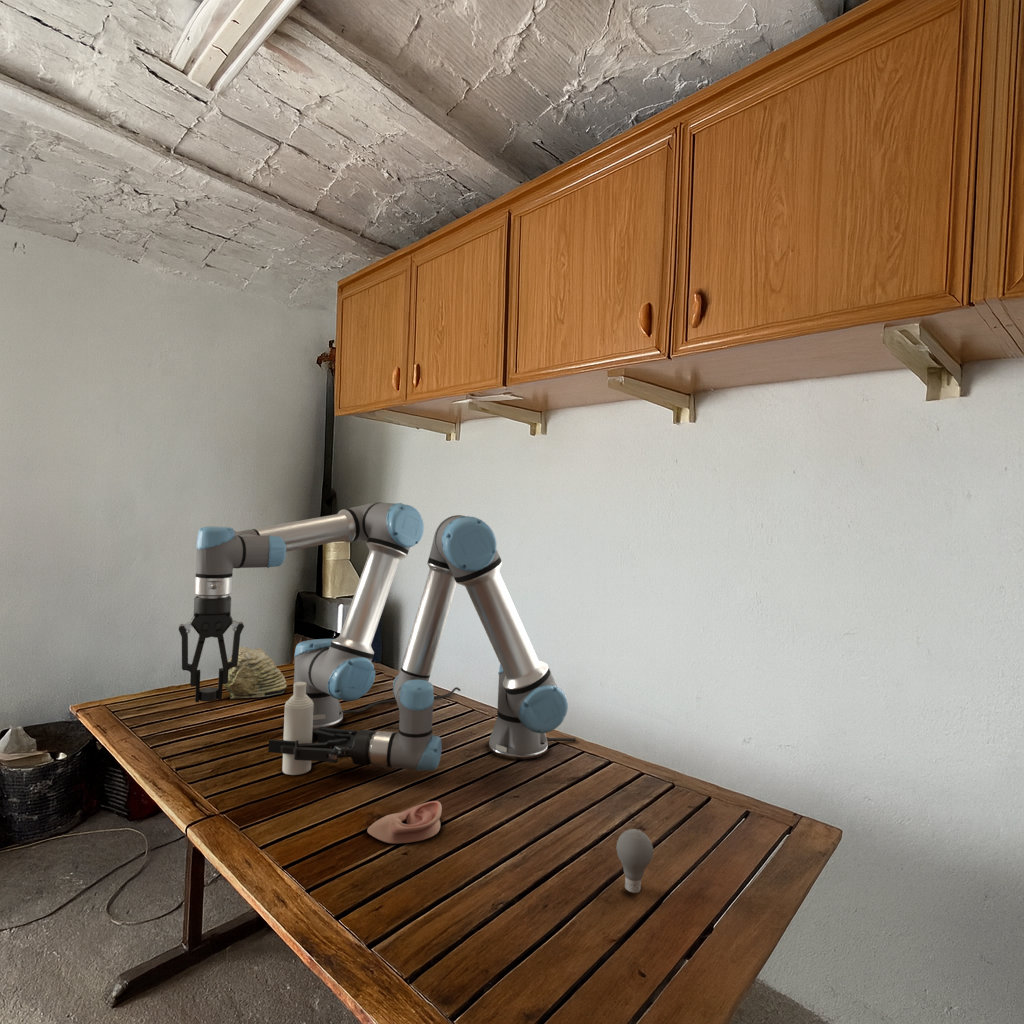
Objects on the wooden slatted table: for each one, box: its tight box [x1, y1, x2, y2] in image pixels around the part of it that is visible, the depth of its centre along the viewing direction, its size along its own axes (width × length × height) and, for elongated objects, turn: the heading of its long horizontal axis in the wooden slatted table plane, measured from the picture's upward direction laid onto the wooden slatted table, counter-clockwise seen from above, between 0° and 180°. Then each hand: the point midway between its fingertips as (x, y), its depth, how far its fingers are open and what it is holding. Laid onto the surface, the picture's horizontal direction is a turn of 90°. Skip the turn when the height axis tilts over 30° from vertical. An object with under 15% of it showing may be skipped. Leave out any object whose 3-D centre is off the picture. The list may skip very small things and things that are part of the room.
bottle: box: [281, 682, 314, 776], centre depth 146 cm, size 6×6×20 cm
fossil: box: [222, 646, 288, 699], centre depth 198 cm, size 9×18×15 cm, turn 132°
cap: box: [199, 686, 218, 702], centre depth 142 cm, size 4×4×2 cm
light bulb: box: [615, 828, 654, 894], centre depth 106 cm, size 6×6×10 cm
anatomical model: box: [366, 800, 443, 845], centre depth 122 cm, size 13×4×12 cm
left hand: (208, 699), depth 142 cm, fingers closed on cap, 4 cm apart
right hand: (276, 739), depth 147 cm, fingers closed on bottle, 6 cm apart
